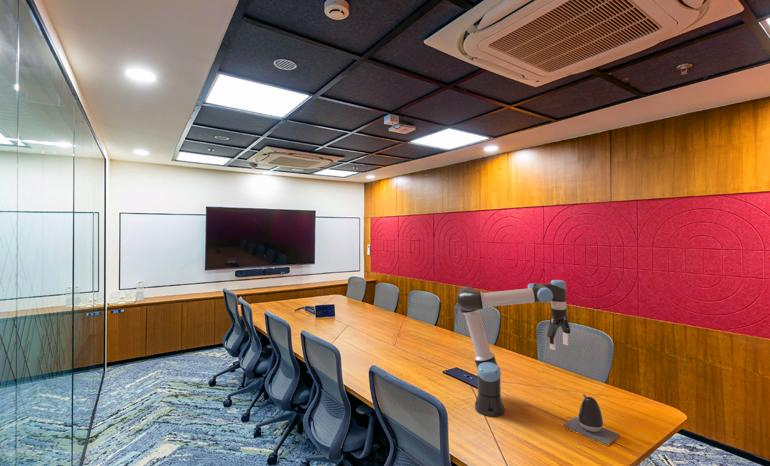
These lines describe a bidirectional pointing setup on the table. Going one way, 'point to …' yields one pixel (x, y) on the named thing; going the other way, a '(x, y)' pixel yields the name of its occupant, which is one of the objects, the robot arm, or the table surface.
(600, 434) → the mat
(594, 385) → the table surface
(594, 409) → the pump dispenser
